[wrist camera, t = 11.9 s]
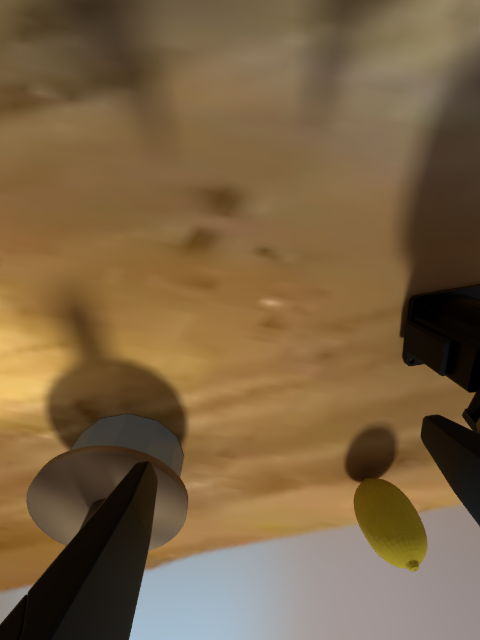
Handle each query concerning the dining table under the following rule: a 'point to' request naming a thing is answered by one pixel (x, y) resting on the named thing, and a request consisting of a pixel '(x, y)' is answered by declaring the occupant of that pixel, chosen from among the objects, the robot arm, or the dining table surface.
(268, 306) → the dining table surface
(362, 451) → the dining table surface
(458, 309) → the robot arm
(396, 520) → the lemon
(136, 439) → the bowl
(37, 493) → the brown peg on base
